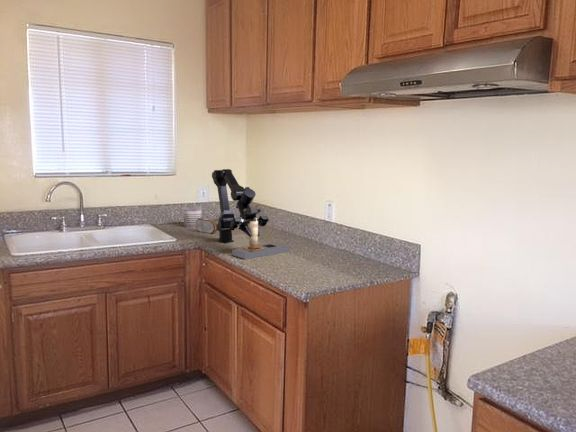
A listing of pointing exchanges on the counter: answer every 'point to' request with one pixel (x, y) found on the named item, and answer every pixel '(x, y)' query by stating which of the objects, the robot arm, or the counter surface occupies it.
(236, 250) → the silver slotted plate
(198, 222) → the tin
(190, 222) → the can
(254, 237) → the peg
